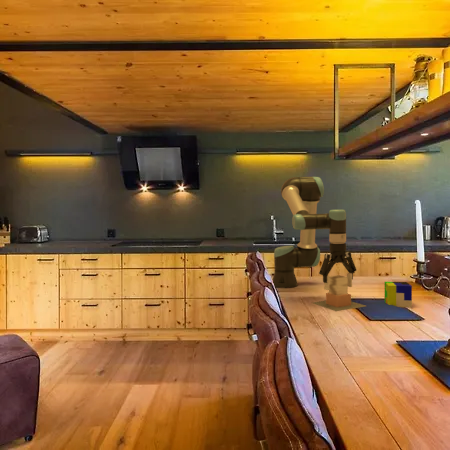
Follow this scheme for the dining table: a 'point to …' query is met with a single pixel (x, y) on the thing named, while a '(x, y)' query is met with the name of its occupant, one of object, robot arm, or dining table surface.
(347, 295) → the base block
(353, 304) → the olive square panel
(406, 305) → the puzzle toy
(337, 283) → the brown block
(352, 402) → the dining table surface
